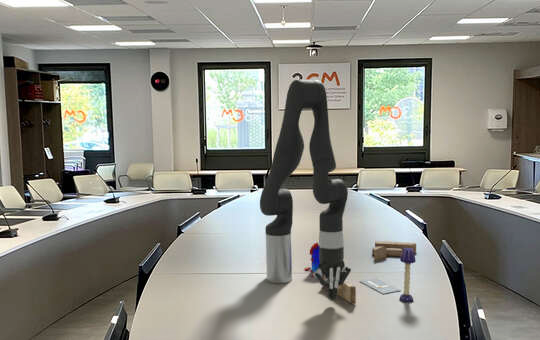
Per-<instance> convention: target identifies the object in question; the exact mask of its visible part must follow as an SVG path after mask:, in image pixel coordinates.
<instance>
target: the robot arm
mask: <svg viewBox="0 0 540 340" xmlns="http://www.w3.org/2000/svg"><path fill="white" fill-rule="evenodd" d="M326 91H327V90H326V87H325V85H324V83H323V82H322V81H321V80H319V79H303V78H302V79H295V80H293V81H291V83H290V85H289V86H288V90H287V93H286V99H285V106H284V110H283V111H284V112H283V117H282V121H281V122H282V123H281V127H280V130H279V135H278V139H277V142H276V146H275V149H274V152H273V158H272V162H271V165H270V168H269V169H270V170H269V173H268V176H267V178H266V181H265V183H264V186H263V187H262V191H261V194H260V199H259V209H260V212H261V213H262V214H263V215H264V216H267V217H269V216H270V217H271V216H276V217H275V218H274V220H272V221H270V222H269V223H268V224H266V226H265V252H266V253H265V254H266V262H265V263H266V281H267V282H269V283H272V284H284V283H285V284H286V283H290V282H291V281H292V280H293V261H292V260H293V257H292V252H293V251H292V227H293V211H294V208H293V207H294V202H293V199H294V198H293V196H292V195H293V194H292V192H291V191H290V190H289V189H287V188H282V186H283V184H284V183H285V181H287V179H288V178H289V177H290V176H291V175H292V174H293V173H294V172H295V171H296V170H297V168H298V166H300V163H301V160H302V157H303V153H304V150H305V143H304V139H303V135H302V132H301V129H300V119H301V118H300V117H301V114H302V111H303V110H311V111H312V115H313V119H314V121H313V122H314V123H313V129H312V133H311V136H310V139H309V143H308V144H309V155H310V159H311V164H312V169H313V170H312V172H313V173H312V174H313V175H312V193H313V197H314V198H315V200H316V201H317V202H318V203H319V204H321V205H326V204H328V207H327V208H326V209H325V210H322V211H321V212H319V213H320V214H319V221H318V222H319V234H318V235H319V236H318V245H319V259H320V263H319V266H318V267H319V268H318V269H317V270H316V271H313V272H312V274H313V276H314V277H315V279H316V280H317V282H318V283H319V284H320V285H321V286H322V287H323V286H324V287H325V288H324V287H323V288H324V289H326V288H327V289H326V296H327V298H328V299H329V301H334V300H337V298H338V294H337V287H338V286H339V285H342V284H343V283H344V281H345V282H346V280H347V278H348V276H349V275H350V274H351V271H352V269H351V267H348V266H347V265H345V261H344V259H345V243H344V242H345V239H344V238H345V237H344V233H343V232H344V230H343V228H344V227H343V216H344V213H345V210H346V209H345V208H346V205H347V200H348V195H349V191H348V190H349V189H348V187H347V184H346V183H345V182H344V180H343V179H340V178H334V179H333V178H332V179H329V173H331V172H333V171H335V170H336V169H337V163H336V159H335V154H334V150H333V146H332V141H331V134H330V124H329V122H330V121H329V110H328V109H329V107H328V98H327V96H328V95H327V92H326ZM321 272H322V273H323V275H324V277H325V280H326V282H325V281H324V279H323V278H322V274H321ZM312 274H311V275H312ZM314 277H313V278H314Z"/></svg>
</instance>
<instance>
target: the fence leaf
mask: <svg viewBox="0 0 540 340" xmlns="http://www.w3.org/2000/svg"><path fill="white" fill-rule="evenodd" d="M356 290H357V287H356V285H352V284H350V283H348V282H347V281H346V280H345V281H344V283H343V284H342V285H339V286H338V287H337V296H339V297H341V298H342V299H343V300H346V301H348V302H349V303H350V304H352V305H355V304H357V301H356V300H357V296H356V295H357V291H356Z"/></svg>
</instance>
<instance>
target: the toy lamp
mask: <svg viewBox="0 0 540 340" xmlns="http://www.w3.org/2000/svg"><path fill="white" fill-rule="evenodd" d="M400 262H401V263H404V281H403V289H404V290H403V293H402V294H401V295H400V296H399V301H401V302H404V303H412V302H414V297H413V296H412V295H411V294H410V284H411V282H410V280H411V277H410V276H411V264H414V263H416V256H415V253H414V251H413V249H412V248H404V249H403V252H402V255H401V257H400Z"/></svg>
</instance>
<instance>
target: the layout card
mask: <svg viewBox="0 0 540 340" xmlns="http://www.w3.org/2000/svg"><path fill="white" fill-rule="evenodd" d="M359 282H360V283H361V284H363V285H365V286H367V287H369V288H371V289H372V290H375V291H376V292H378V293H380V294H382V295H386V294H391V293H392V294H394V293H397V292H401V291H402V290H401V289H400V288H397V287H396V286H393V285H391V284H390V283H388V282H385V281H383V280H381V279H379V278H377V277H373V278H368V279H363V280H359Z"/></svg>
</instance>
